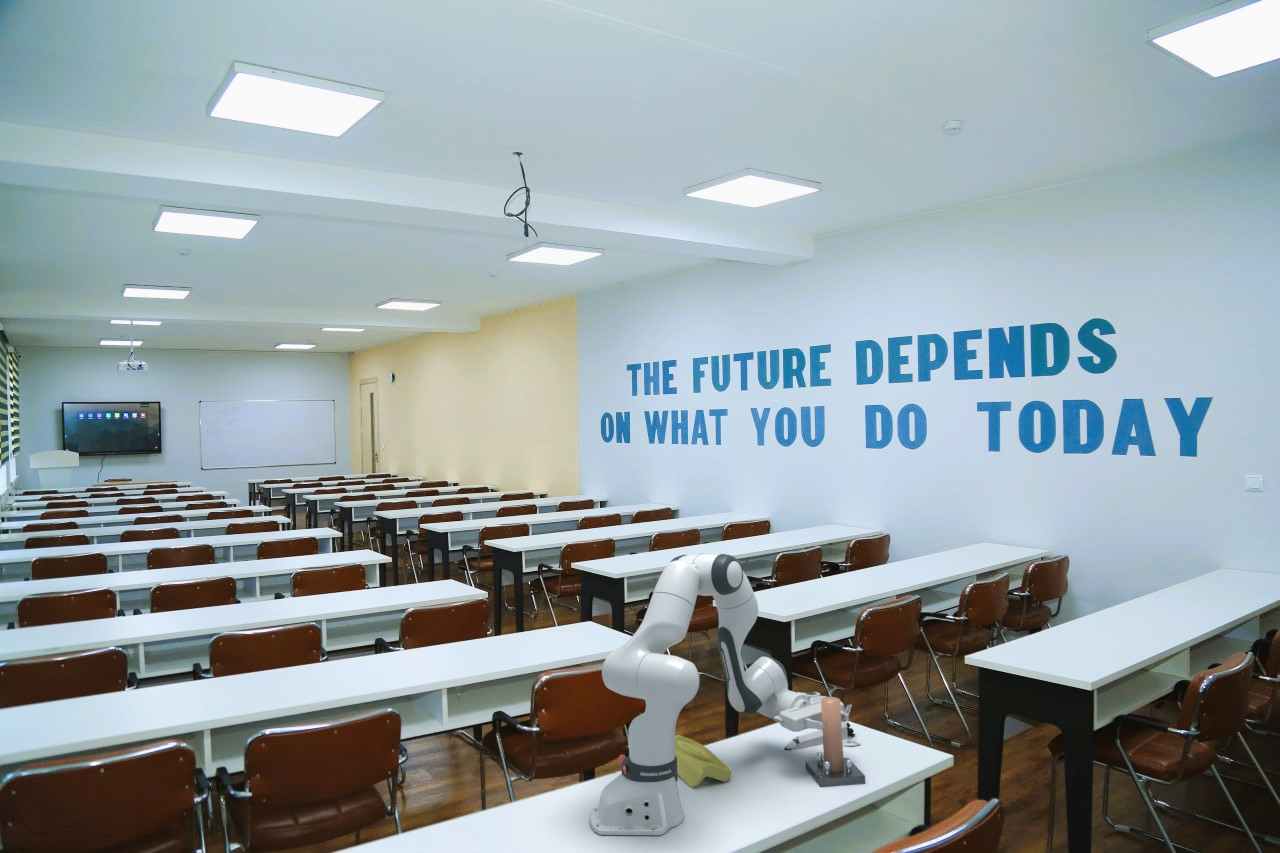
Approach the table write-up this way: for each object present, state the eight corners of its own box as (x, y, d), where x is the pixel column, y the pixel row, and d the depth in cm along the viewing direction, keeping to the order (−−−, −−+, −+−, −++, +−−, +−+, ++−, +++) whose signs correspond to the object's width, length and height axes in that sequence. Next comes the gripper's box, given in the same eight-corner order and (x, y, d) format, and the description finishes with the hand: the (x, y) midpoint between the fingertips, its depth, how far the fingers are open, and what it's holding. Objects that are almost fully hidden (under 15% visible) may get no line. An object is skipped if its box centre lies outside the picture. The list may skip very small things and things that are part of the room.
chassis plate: (820, 787, 204) (819, 767, 204) (805, 768, 215) (804, 749, 216) (865, 783, 205) (864, 763, 205) (848, 765, 217) (847, 746, 217)
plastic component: (735, 772, 209) (704, 762, 205) (724, 800, 208) (693, 790, 204) (700, 742, 227) (672, 732, 223) (690, 767, 226) (662, 758, 223)
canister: (833, 773, 207) (829, 704, 207) (820, 767, 211) (816, 699, 211) (847, 768, 209) (844, 700, 209) (834, 762, 214) (831, 695, 214)
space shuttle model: (769, 743, 236) (768, 709, 236) (837, 729, 246) (835, 696, 247) (800, 761, 222) (798, 725, 222) (870, 745, 232) (869, 710, 232)
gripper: (769, 706, 215) (807, 719, 204) (820, 690, 227) (859, 702, 216) (770, 729, 215) (808, 743, 204) (820, 712, 227) (860, 725, 216)
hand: (835, 722), depth 210 cm, fingers open, 8 cm apart
